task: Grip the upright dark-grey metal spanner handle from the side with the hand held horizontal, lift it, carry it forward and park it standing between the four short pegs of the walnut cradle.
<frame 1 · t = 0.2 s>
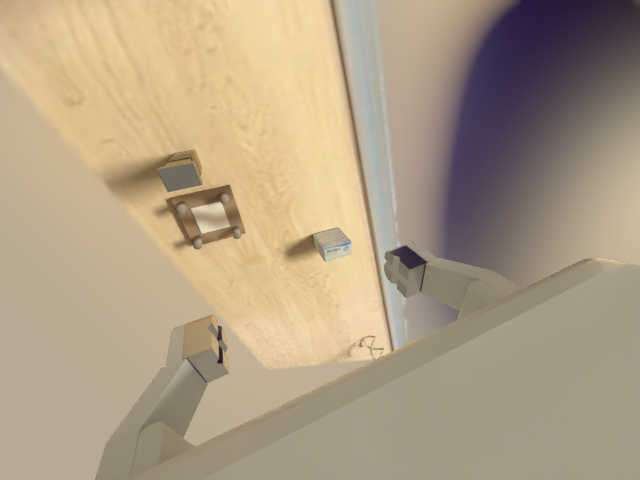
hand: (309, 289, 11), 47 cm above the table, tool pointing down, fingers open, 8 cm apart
medicine box: (326, 236, 69), on the table
peg cradle: (211, 215, 54), on the table
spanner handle: (189, 160, 48), on the table
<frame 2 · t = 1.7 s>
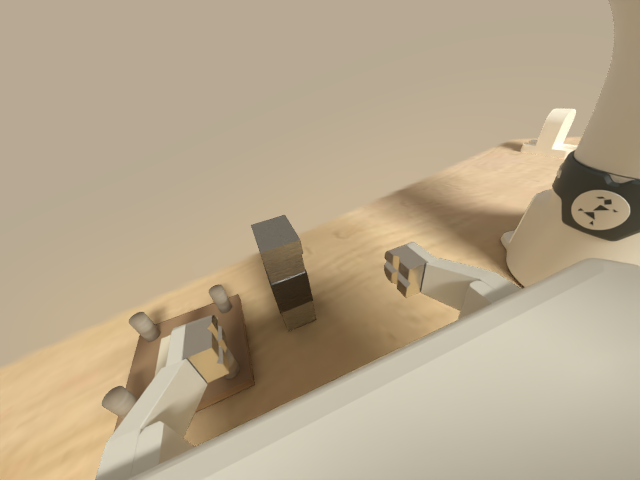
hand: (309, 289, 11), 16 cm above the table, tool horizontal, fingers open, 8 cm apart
cable organizer: (546, 153, 61), on the table
peg cradle: (193, 357, 27), on the table
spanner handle: (297, 314, 30), on the table
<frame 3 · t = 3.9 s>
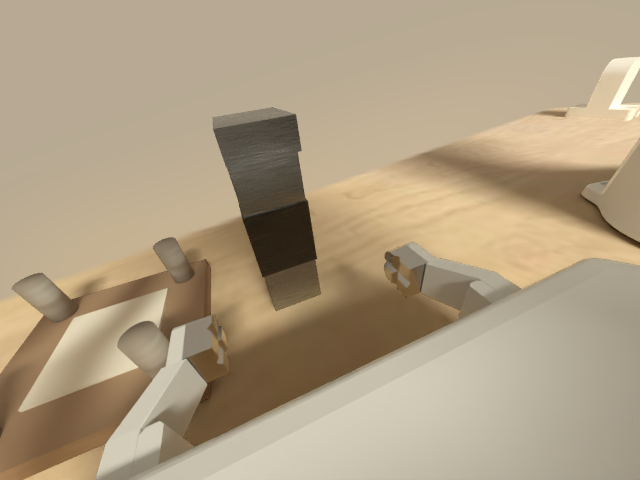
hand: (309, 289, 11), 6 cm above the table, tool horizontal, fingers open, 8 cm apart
cable organizer: (598, 117, 50), on the table
peg cradle: (121, 348, 16), on the table
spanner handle: (292, 286, 19), on the table
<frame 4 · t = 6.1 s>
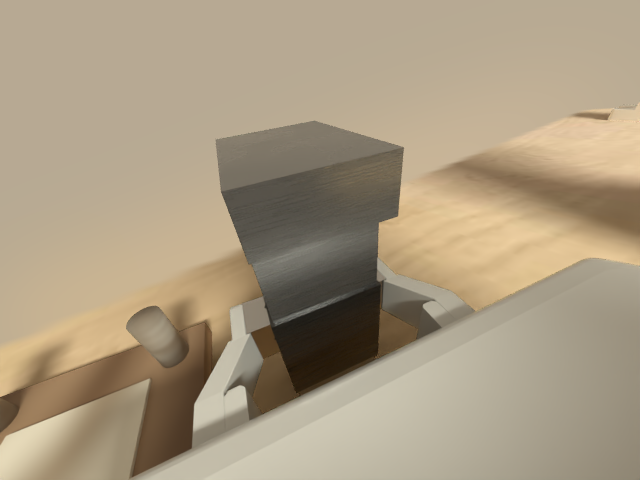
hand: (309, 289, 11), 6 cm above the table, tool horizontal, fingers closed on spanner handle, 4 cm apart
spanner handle: (329, 372, 14), on the table, touching gripper
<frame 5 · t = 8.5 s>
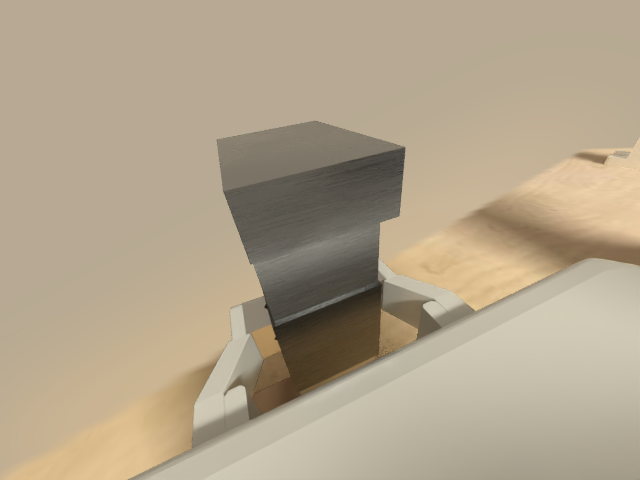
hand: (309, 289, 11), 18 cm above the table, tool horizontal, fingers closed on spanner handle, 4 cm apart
cable organizer: (637, 167, 53), on the table
peg cradle: (301, 457, 20), on the table
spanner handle: (329, 372, 14), point 12 cm above the table, touching gripper
when the fingers open (9 cm above the table, at t = 10.9 s): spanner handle drops 1 cm, resting on peg cradle.
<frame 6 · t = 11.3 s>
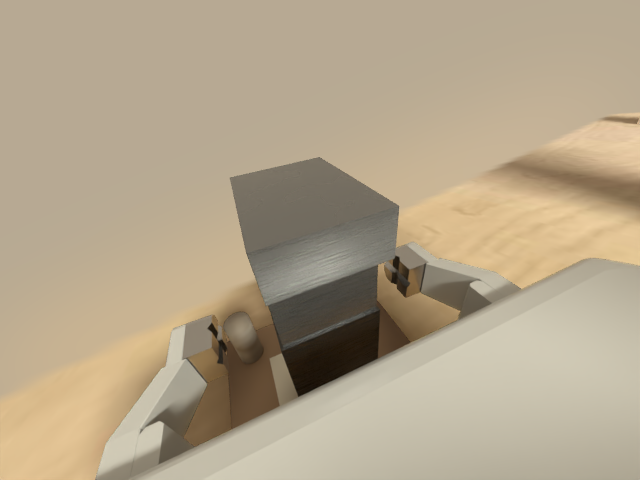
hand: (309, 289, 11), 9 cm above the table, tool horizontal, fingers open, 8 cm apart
peg cradle: (333, 393, 15), on the table
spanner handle: (331, 383, 14), point 1 cm above the table, touching peg cradle
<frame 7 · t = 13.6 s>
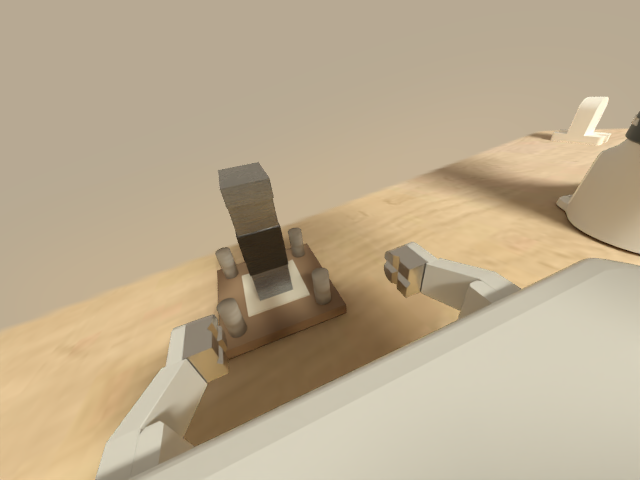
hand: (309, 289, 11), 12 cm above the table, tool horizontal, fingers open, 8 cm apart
cable organizer: (576, 141, 62), on the table
peg cradle: (275, 292, 27), on the table
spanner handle: (273, 284, 26), point 1 cm above the table, touching peg cradle
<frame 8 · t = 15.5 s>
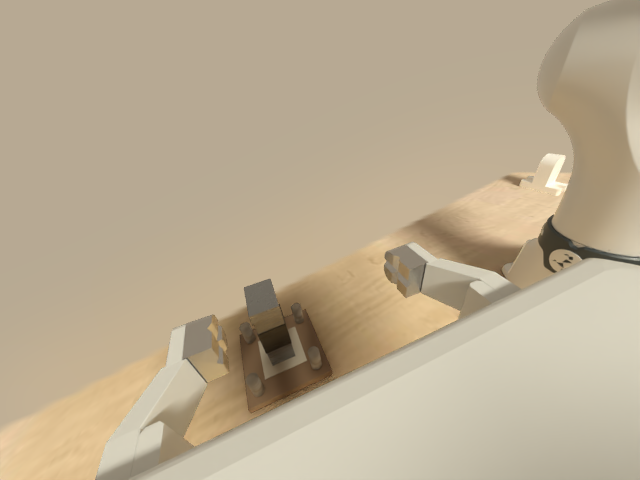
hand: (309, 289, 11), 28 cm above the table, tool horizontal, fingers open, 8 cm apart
cable organizer: (540, 189, 72), on the table
peg cradle: (283, 355, 38), on the table
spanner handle: (281, 350, 37), point 1 cm above the table, touching peg cradle
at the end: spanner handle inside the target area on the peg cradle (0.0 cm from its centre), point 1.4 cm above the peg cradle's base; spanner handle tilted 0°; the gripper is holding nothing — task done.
